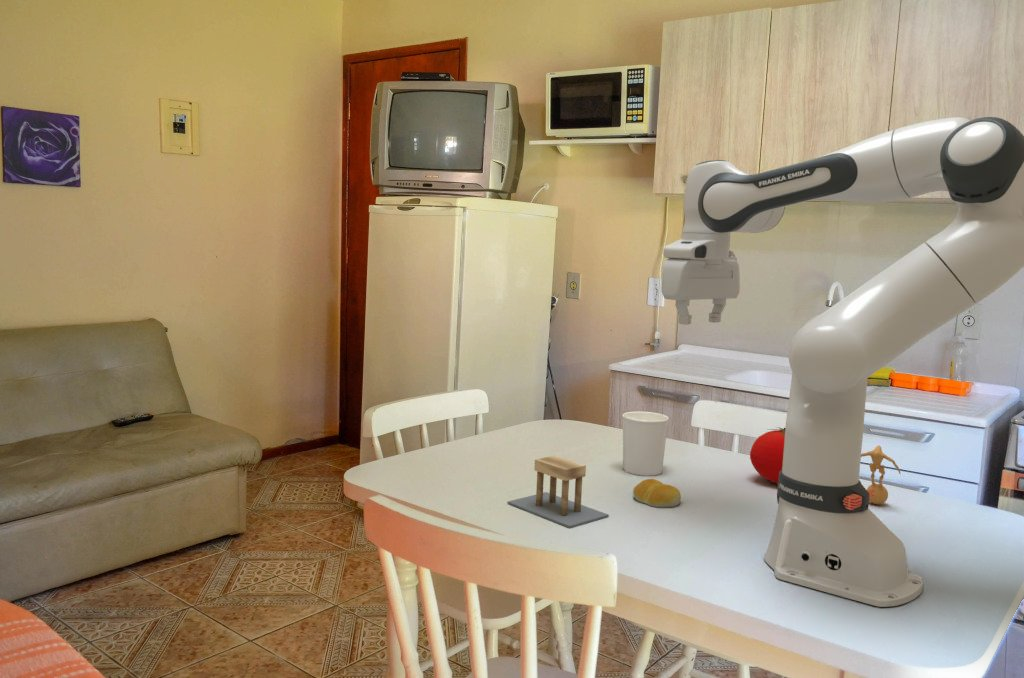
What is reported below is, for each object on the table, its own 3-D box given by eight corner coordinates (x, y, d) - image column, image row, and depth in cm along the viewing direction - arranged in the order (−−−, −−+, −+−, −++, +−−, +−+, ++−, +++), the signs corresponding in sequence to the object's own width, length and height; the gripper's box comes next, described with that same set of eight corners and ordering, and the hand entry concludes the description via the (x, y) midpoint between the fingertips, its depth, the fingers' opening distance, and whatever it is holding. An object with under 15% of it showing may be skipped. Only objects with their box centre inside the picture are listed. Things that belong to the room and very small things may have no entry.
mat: (608, 516, 146) (608, 514, 146) (569, 528, 140) (569, 526, 140) (546, 494, 158) (546, 492, 158) (507, 503, 151) (507, 501, 151)
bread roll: (663, 512, 151) (664, 491, 150) (626, 499, 158) (627, 479, 157) (690, 503, 156) (691, 483, 156) (653, 491, 163) (654, 472, 162)
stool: (552, 499, 153) (554, 455, 152) (583, 511, 148) (585, 465, 146) (532, 504, 150) (534, 459, 149) (564, 516, 144) (566, 469, 143)
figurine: (901, 506, 159) (907, 446, 157) (893, 513, 154) (899, 451, 153) (856, 497, 164) (862, 438, 163) (847, 503, 159) (853, 443, 158)
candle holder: (672, 469, 179) (675, 415, 178) (654, 479, 171) (658, 423, 169) (630, 461, 184) (633, 409, 183) (611, 471, 176) (614, 416, 174)
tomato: (816, 495, 164) (821, 439, 163) (745, 485, 169) (749, 431, 168) (818, 479, 176) (822, 427, 174) (751, 470, 181) (755, 419, 179)
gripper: (722, 250, 162) (717, 319, 164) (657, 247, 149) (653, 323, 150) (750, 251, 158) (745, 322, 159) (686, 248, 144) (681, 327, 146)
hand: (699, 323), depth 155 cm, fingers open, 8 cm apart
